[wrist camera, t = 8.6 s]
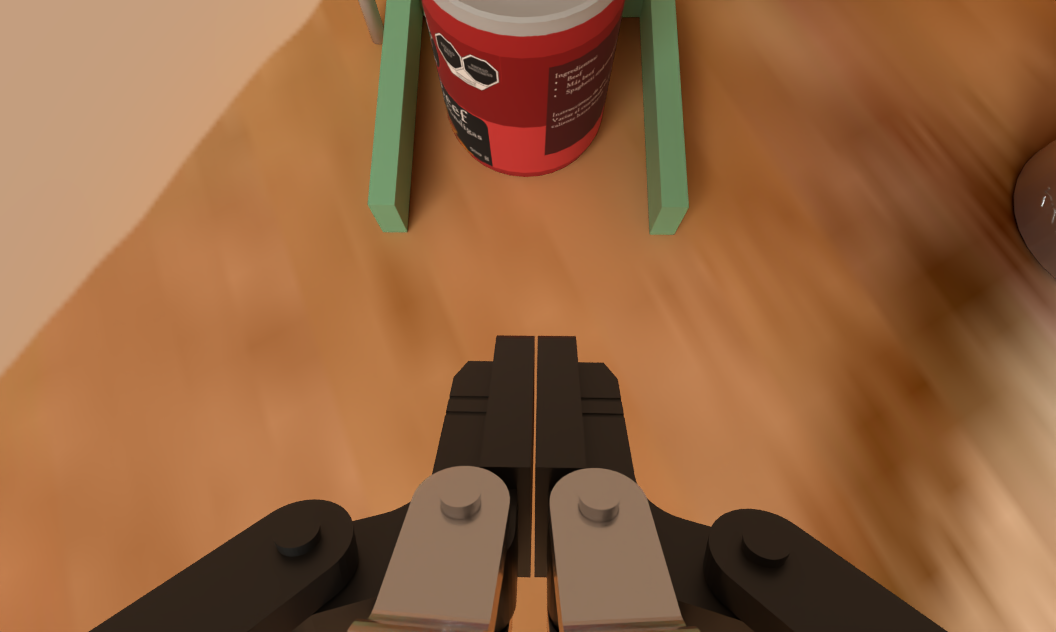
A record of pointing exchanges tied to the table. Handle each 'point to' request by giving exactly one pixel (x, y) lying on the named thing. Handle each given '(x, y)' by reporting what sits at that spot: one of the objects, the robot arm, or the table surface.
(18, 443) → the table surface
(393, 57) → the green u-shaped frame
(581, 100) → the canned food
